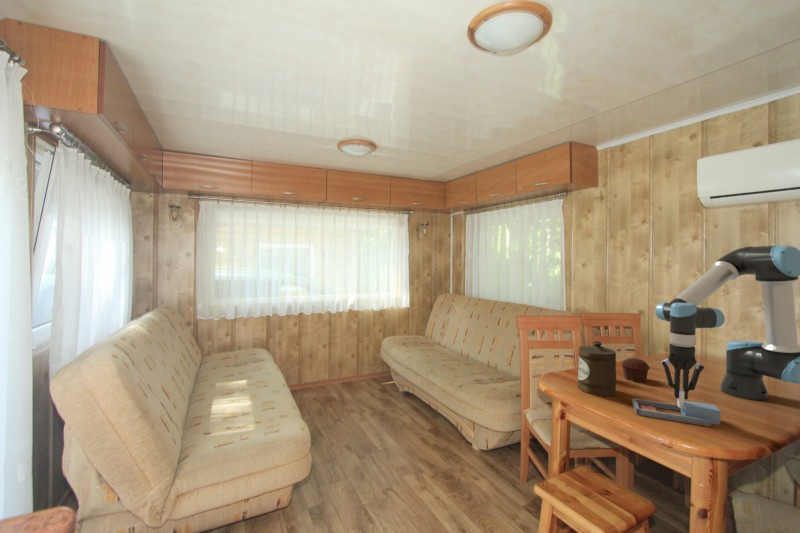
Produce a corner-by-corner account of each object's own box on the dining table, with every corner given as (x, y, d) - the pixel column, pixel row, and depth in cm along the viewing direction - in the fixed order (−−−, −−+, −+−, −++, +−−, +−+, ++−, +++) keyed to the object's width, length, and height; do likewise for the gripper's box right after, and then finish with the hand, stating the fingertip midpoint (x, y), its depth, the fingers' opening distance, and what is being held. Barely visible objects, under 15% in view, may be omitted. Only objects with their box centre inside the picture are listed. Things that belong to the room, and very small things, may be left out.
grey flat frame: (699, 413, 137) (699, 407, 136) (710, 426, 125) (711, 421, 125) (631, 402, 146) (631, 397, 146) (636, 414, 135) (636, 409, 135)
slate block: (714, 418, 132) (714, 404, 132) (720, 425, 127) (720, 411, 127) (680, 413, 137) (680, 400, 136) (685, 419, 131) (685, 405, 131)
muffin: (642, 376, 179) (643, 356, 179) (654, 383, 168) (654, 362, 168) (616, 374, 181) (617, 355, 181) (626, 382, 170) (627, 361, 170)
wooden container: (576, 382, 170) (577, 336, 169) (612, 387, 164) (613, 339, 163) (579, 393, 156) (580, 343, 155) (618, 398, 150) (619, 346, 150)
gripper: (701, 344, 134) (699, 406, 135) (658, 340, 140) (657, 400, 140) (707, 348, 127) (706, 414, 128) (663, 344, 133) (661, 407, 133)
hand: (680, 406), depth 134 cm, fingers closed
